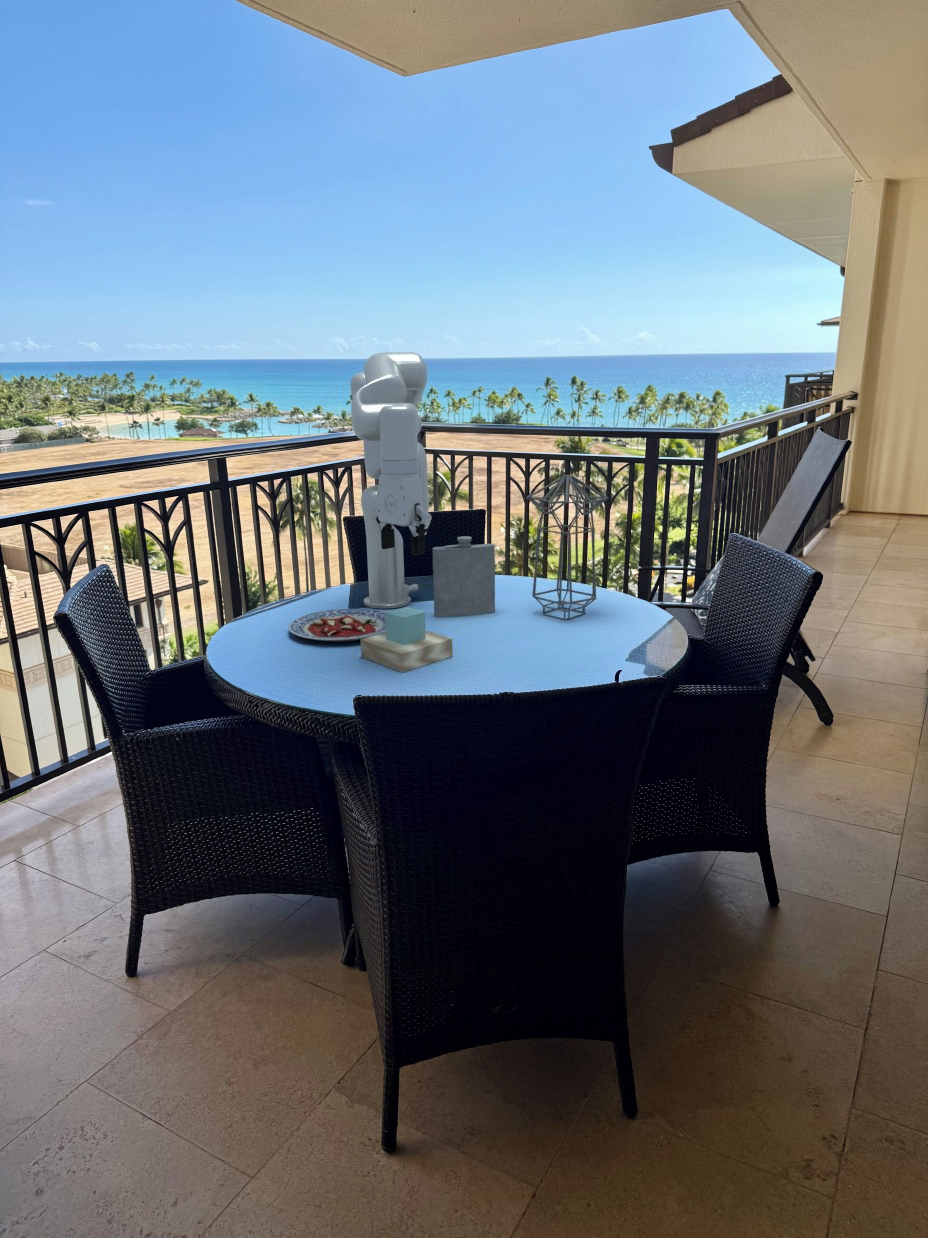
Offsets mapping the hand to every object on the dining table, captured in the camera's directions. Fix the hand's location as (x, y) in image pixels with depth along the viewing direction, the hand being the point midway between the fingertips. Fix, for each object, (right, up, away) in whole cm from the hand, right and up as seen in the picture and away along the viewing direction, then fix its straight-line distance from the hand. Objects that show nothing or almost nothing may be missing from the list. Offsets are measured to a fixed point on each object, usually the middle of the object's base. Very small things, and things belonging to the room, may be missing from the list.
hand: (402, 551), depth 169 cm
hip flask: (+13, -13, +38) cm, 42 cm away
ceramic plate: (-16, -17, +26) cm, 35 cm away
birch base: (0, -22, +6) cm, 23 cm away
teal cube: (0, -18, +5) cm, 19 cm away
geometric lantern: (+38, -13, +38) cm, 55 cm away
